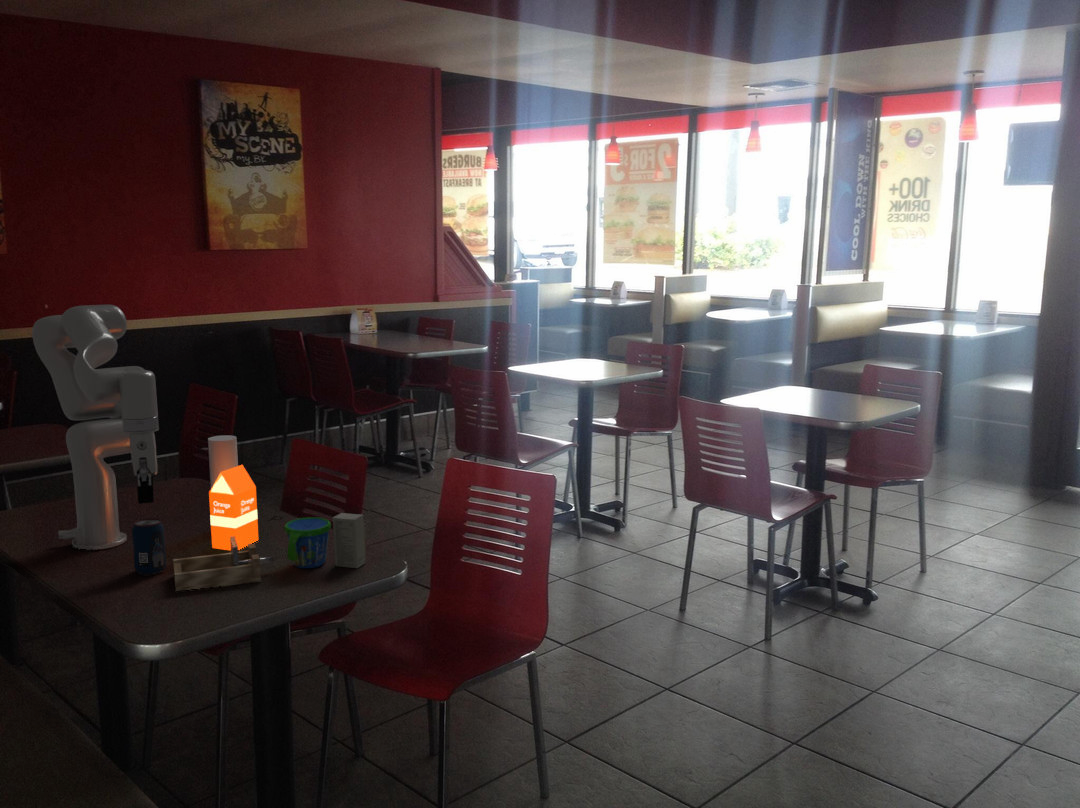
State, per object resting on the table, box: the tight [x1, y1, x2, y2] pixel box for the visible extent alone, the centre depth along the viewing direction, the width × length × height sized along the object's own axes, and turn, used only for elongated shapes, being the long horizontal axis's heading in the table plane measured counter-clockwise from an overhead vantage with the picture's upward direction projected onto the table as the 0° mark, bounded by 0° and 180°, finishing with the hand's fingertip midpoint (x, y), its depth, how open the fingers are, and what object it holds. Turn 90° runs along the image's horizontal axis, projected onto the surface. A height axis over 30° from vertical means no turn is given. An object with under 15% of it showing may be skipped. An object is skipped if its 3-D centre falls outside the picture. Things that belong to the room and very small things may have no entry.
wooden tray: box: [172, 543, 262, 592], centre depth 211 cm, size 18×12×6 cm, turn 113°
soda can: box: [131, 517, 168, 575], centre depth 216 cm, size 7×7×12 cm
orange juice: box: [208, 464, 259, 552], centre depth 234 cm, size 8×9×20 cm
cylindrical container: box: [207, 434, 239, 490], centre depth 246 cm, size 7×7×25 cm
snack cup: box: [283, 516, 332, 569], centre depth 221 cm, size 16×10×10 cm
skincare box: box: [332, 512, 367, 569], centre depth 220 cm, size 6×4×12 cm
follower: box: [230, 536, 274, 566], centre depth 214 cm, size 9×8×7 cm
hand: (146, 497), depth 213 cm, fingers open, 9 cm apart
